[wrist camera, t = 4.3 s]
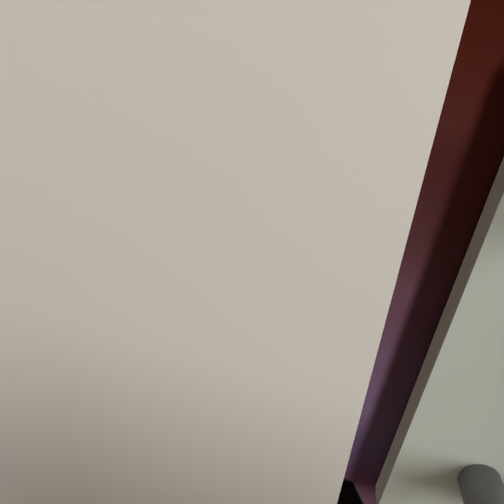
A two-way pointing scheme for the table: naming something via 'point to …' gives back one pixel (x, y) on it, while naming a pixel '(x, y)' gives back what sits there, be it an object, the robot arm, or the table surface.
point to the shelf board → (203, 238)
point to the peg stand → (459, 387)
